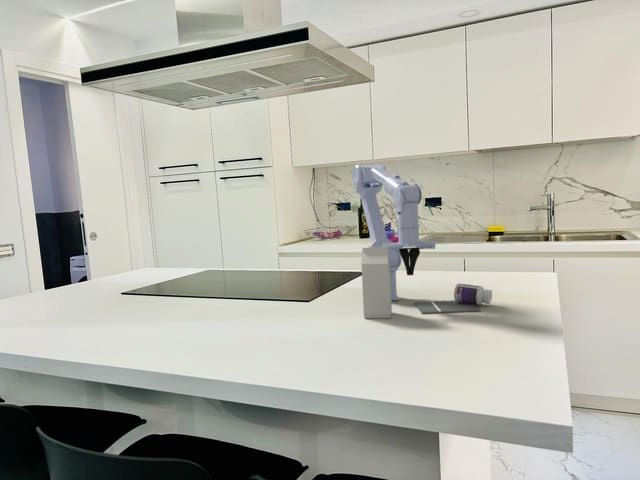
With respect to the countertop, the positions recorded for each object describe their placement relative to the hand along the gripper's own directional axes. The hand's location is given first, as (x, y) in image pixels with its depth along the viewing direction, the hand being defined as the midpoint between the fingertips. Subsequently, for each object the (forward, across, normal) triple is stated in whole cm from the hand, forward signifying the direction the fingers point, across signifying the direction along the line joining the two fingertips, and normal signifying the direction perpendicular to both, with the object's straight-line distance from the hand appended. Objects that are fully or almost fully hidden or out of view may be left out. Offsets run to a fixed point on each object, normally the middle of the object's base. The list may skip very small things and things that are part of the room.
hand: (410, 274), depth 142 cm
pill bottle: (+6, +14, +4) cm, 16 cm away
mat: (+10, +10, 0) cm, 14 cm away
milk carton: (+10, -10, -6) cm, 15 cm away
